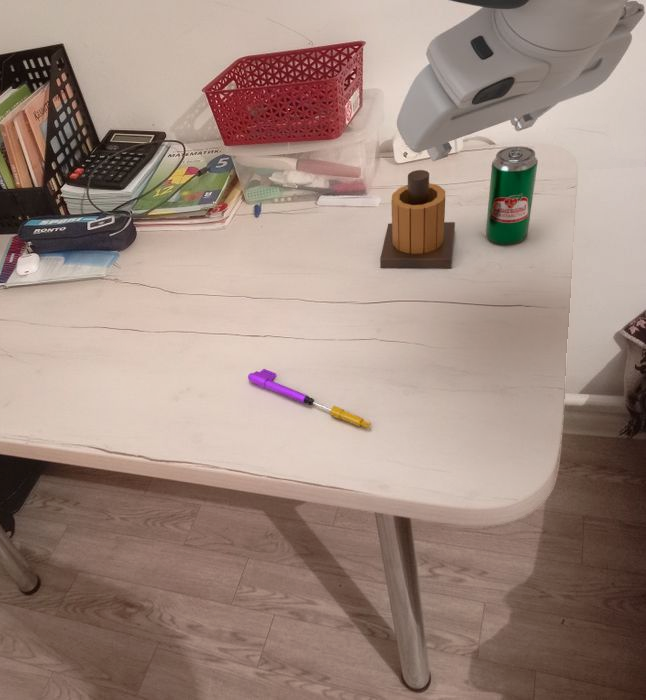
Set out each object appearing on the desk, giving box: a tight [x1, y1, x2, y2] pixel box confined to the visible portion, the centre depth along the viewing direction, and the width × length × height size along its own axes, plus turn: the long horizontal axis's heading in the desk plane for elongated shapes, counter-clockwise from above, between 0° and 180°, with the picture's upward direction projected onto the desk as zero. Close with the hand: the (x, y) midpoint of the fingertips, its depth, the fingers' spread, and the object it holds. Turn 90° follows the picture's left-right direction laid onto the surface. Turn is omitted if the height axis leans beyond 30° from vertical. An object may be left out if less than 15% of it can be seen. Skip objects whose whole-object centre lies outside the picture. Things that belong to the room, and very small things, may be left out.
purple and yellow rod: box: [247, 368, 372, 429], centre depth 71 cm, size 3×1×16 cm
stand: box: [379, 169, 456, 269], centre depth 83 cm, size 9×9×12 cm
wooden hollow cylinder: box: [390, 182, 446, 254], centre depth 84 cm, size 7×7×7 cm
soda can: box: [485, 145, 539, 245], centre depth 80 cm, size 5×5×12 cm
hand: (477, 139), depth 65 cm, fingers open, 8 cm apart
